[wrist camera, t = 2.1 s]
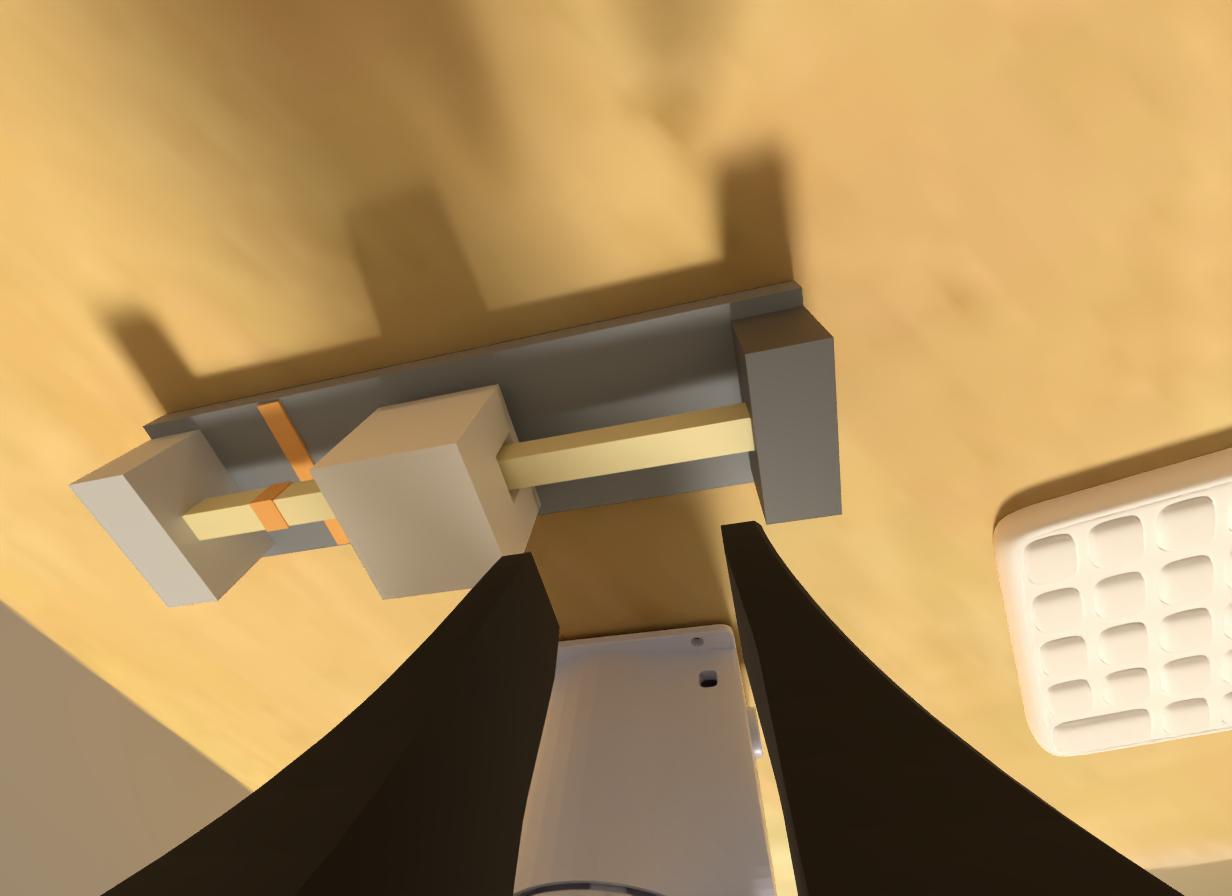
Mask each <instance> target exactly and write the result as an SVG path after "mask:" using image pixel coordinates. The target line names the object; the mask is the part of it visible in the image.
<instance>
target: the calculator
mask: <svg viewBox="0 0 1232 896" xmlns="http://www.w3.org/2000/svg"><path fill="white" fill-rule="evenodd" d="M1207 497H1208V498H1207ZM1069 535H1070V536H1071V537H1070V536H1069ZM1159 547H1160V548H1159ZM993 548H994V556H995V562H996V567H997V573H998V578H999V583H1000V588H1001V593H1002V598H1003V603H1004V609H1005V614H1006V619H1007V624H1008V629H1009V634H1010V639H1011V645H1012V650H1013V655H1014V660H1015V665H1016V670H1017V675H1018V680H1019V686H1020V691H1021V696H1022V701H1023V706H1024V711H1025V716H1026V719H1027V723H1028V726H1029V728H1030V730H1031V732H1032V734H1033V735H1034V737H1035V739H1036V740H1037V742H1038V743H1039V744H1040V746H1041V747H1042V748H1043V749H1045V750H1046V751H1048V752H1049V753H1050V754H1052V755H1057V756H1077V755H1084V754H1091V753H1098V752H1104V751H1110V750H1116V749H1122V748H1128V747H1134V746H1140V745H1146V744H1151V743H1157V742H1163V741H1169V740H1175V739H1181V738H1187V737H1193V736H1199V735H1204V734H1210V733H1216V732H1222V731H1228V730H1232V447H1231V448H1228V449H1224V450H1221V451H1217V452H1214V453H1210V454H1207V455H1203V456H1200V457H1196V458H1193V459H1189V460H1186V461H1182V462H1179V463H1175V464H1172V465H1168V466H1165V467H1161V468H1158V469H1154V470H1151V471H1147V472H1144V473H1140V474H1137V475H1133V476H1130V477H1126V478H1123V479H1119V480H1116V481H1112V482H1109V483H1105V484H1102V485H1098V486H1095V487H1091V488H1088V489H1084V490H1081V491H1077V492H1074V493H1070V494H1067V495H1063V496H1060V497H1056V498H1053V499H1049V500H1046V501H1043V502H1040V503H1037V504H1034V505H1030V506H1027V507H1024V508H1021V509H1019V510H1017V511H1015V512H1012V513H1010V514H1008V515H1006V516H1005V517H1004V518H1003V519H1001V520H1000V521H999V522H998V523H997V525H996V527H995V530H994V534H993ZM1093 564H1094V565H1093ZM1028 578H1029V579H1028ZM1076 589H1077V590H1076ZM1206 609H1207V610H1206ZM1096 613H1097V614H1098V615H1097V614H1096ZM1205 656H1206V657H1205ZM1102 660H1103V661H1102ZM1223 679H1224V680H1223ZM1087 681H1088V682H1087Z"/></svg>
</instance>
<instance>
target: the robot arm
mask: <svg viewBox="0 0 1232 896" xmlns="http://www.w3.org/2000/svg"><path fill="white" fill-rule="evenodd" d="M721 530H722V537H723V543H724V550H725V555H726V561H727V567H728V573H729V578H730V584H731V590H732V595H733V601H734V607H735V613H736V618H737V624H738V630H739V635H740V641H741V647H742V653H743V658H744V662H745V666H746V670H747V674H748V677H749V681H750V685H751V689H752V693H753V696H754V700H755V704H756V708H757V711H758V715H759V719H760V723H761V726H762V730H763V734H764V738H765V742H766V745H767V749H768V753H769V757H770V760H771V764H772V768H773V772H774V776H775V779H776V783H777V788H778V792H779V796H780V801H781V805H782V810H783V815H784V820H785V826H786V831H787V837H788V842H789V848H790V853H791V859H792V864H793V870H794V875H795V880H796V886H797V891H798V896H1184V895H1183V894H1181V893H1180V892H1178V891H1177V890H1175V889H1173V888H1172V887H1170V886H1169V885H1167V884H1166V883H1164V882H1163V881H1161V880H1160V879H1158V878H1157V877H1155V876H1154V875H1152V874H1150V873H1149V872H1147V871H1146V870H1144V869H1143V868H1141V867H1140V866H1138V865H1137V864H1135V863H1134V862H1132V861H1131V860H1129V859H1128V858H1126V857H1125V856H1123V855H1122V854H1120V853H1119V852H1117V851H1116V850H1114V849H1113V848H1111V847H1110V846H1108V845H1107V844H1105V843H1104V842H1102V841H1101V840H1099V839H1098V838H1097V837H1095V836H1094V835H1092V834H1091V833H1089V832H1088V831H1086V830H1085V829H1083V828H1082V827H1080V826H1079V825H1078V824H1076V823H1075V822H1073V821H1072V820H1070V819H1069V818H1067V817H1066V816H1064V815H1063V814H1062V813H1060V812H1059V811H1057V810H1056V809H1055V808H1053V807H1052V806H1051V805H1049V804H1048V803H1046V802H1045V801H1044V800H1042V799H1041V798H1039V797H1038V796H1037V795H1035V794H1034V793H1033V792H1031V791H1030V790H1028V789H1027V788H1026V787H1024V786H1023V785H1021V784H1020V783H1019V782H1017V781H1016V780H1014V779H1013V778H1012V777H1010V776H1009V775H1008V774H1006V773H1005V772H1004V771H1002V770H1001V769H1000V768H999V767H997V766H996V765H995V764H993V763H992V762H991V761H990V760H988V759H987V758H986V757H985V756H983V755H982V754H981V753H979V752H978V751H977V750H976V749H974V748H973V747H972V746H971V745H969V744H968V743H967V742H965V741H964V740H963V739H962V738H960V737H959V736H958V735H956V734H955V733H954V732H953V731H951V730H950V729H949V728H948V727H946V726H945V725H944V724H942V723H941V722H940V721H939V720H937V719H936V718H935V717H934V716H932V715H931V714H930V713H929V712H928V711H927V710H925V709H924V708H923V707H922V706H921V705H920V704H919V703H917V702H916V701H915V700H914V699H913V698H912V697H910V696H909V695H908V694H907V693H906V692H905V691H904V690H902V689H901V688H900V687H899V686H898V685H897V684H896V683H895V682H893V681H892V680H891V679H890V678H889V677H888V676H887V675H886V674H885V673H884V672H883V671H882V670H881V669H879V668H878V667H877V666H876V665H875V664H874V663H873V662H872V661H871V660H870V659H869V658H868V657H867V656H866V655H865V654H864V653H863V652H862V651H861V650H860V649H859V648H858V647H857V646H856V645H855V644H854V643H853V642H852V641H851V640H850V639H849V638H848V637H847V636H846V635H845V634H844V633H843V632H842V631H841V630H840V629H839V627H838V626H837V625H836V624H835V623H834V622H833V621H832V620H831V619H830V618H829V617H828V616H827V614H826V613H825V612H824V611H823V610H822V609H821V608H820V607H819V605H818V604H817V603H816V602H815V601H814V600H813V598H812V597H811V596H810V595H809V593H808V592H807V591H806V590H805V589H804V587H803V586H802V585H801V584H800V583H799V581H798V580H797V579H796V578H795V576H794V575H793V574H792V572H791V571H790V570H789V568H788V567H787V566H786V564H785V563H784V562H783V560H782V559H781V557H780V556H779V555H778V553H777V552H776V550H775V549H774V547H773V546H772V544H771V542H770V541H769V539H768V537H767V536H766V534H765V532H764V530H763V528H762V526H761V525H760V524H759V523H757V522H756V521H749V522H742V523H735V524H728V525H721ZM559 628H560V627H559V624H558V622H557V619H556V616H555V614H554V611H553V609H552V606H551V603H550V601H549V598H548V595H547V593H546V590H545V588H544V585H543V582H542V580H541V577H540V575H539V572H538V569H537V567H536V564H535V561H534V559H533V556H532V554H531V552H528V553H521V554H514V555H507V556H502V557H501V558H500V559H499V560H498V561H497V562H496V563H495V564H494V565H493V566H492V567H491V568H490V569H489V570H488V572H487V573H486V574H485V575H484V576H483V577H482V578H481V579H480V580H479V582H478V583H477V584H476V585H475V586H474V587H473V588H472V590H471V591H470V592H469V593H468V594H467V595H466V596H465V597H464V599H463V600H462V601H461V602H460V603H459V604H458V605H457V606H456V608H455V609H454V610H453V611H452V612H451V613H450V614H449V615H448V616H447V617H446V619H445V620H444V621H443V622H442V623H441V624H440V625H439V626H438V627H437V629H436V630H435V631H434V632H433V633H432V634H431V635H430V636H429V637H428V638H427V639H426V640H425V641H424V642H423V643H422V644H421V645H420V647H419V648H418V649H417V650H416V651H415V652H414V653H413V654H412V655H411V656H410V657H409V658H408V659H407V660H406V661H405V662H404V663H403V664H402V665H401V666H400V667H399V668H398V669H397V670H396V671H395V672H394V673H393V674H392V675H391V676H390V677H389V678H388V679H387V680H386V681H385V682H384V683H383V684H382V685H381V686H380V687H379V688H378V689H377V690H376V691H375V692H374V693H373V694H372V695H370V696H369V697H368V698H367V699H366V700H365V701H364V702H363V703H362V704H361V705H360V706H359V707H357V708H356V709H355V710H354V711H353V712H352V713H351V714H349V715H348V716H347V717H346V718H345V719H344V720H343V721H342V722H340V723H339V724H338V725H337V726H336V727H335V728H334V729H332V730H331V731H330V732H329V733H328V734H327V735H325V736H324V737H323V738H322V739H321V740H319V741H318V742H317V743H316V744H314V745H313V746H312V747H311V748H309V749H308V750H307V751H306V752H304V753H303V754H302V755H300V756H299V757H298V758H297V759H295V760H294V761H293V762H292V763H290V764H289V765H288V766H287V767H285V768H284V769H283V770H282V771H280V772H279V773H278V774H277V775H275V776H274V777H273V778H272V779H270V780H269V781H268V782H267V783H265V784H264V785H263V786H261V787H260V788H259V789H257V790H256V791H255V792H253V793H252V794H251V795H249V796H248V797H246V798H245V799H244V800H242V801H241V802H240V803H238V804H237V805H236V806H234V807H233V808H231V809H230V810H229V811H227V812H226V813H224V814H223V815H222V816H221V817H219V818H217V819H216V820H215V821H213V822H212V823H210V824H209V825H207V826H206V827H204V828H203V829H202V830H200V831H199V832H197V833H196V834H194V835H193V836H192V837H190V838H189V839H187V840H186V841H184V842H183V843H182V844H180V845H178V846H177V847H175V848H174V849H172V850H171V851H169V852H168V853H166V854H165V855H164V856H162V857H160V858H159V859H157V860H156V861H154V862H153V863H151V864H149V865H148V866H146V867H145V868H143V869H142V870H140V871H138V872H137V873H135V874H134V875H132V876H131V877H129V878H128V879H126V880H124V881H123V882H121V883H120V884H118V885H116V886H115V887H114V888H112V889H110V890H109V891H107V892H105V893H104V894H102V895H101V896H777V892H776V885H775V879H774V872H773V866H772V859H771V853H770V847H769V840H768V834H767V827H766V821H765V815H764V808H763V802H762V796H761V789H760V783H759V776H758V770H757V764H756V758H760V757H763V751H762V745H761V739H760V733H759V727H758V721H757V715H756V709H755V708H754V707H748V708H747V704H746V698H745V693H744V687H743V682H742V676H741V671H740V665H739V660H738V654H737V649H736V643H735V638H734V632H733V630H732V628H731V627H730V626H728V625H725V624H716V625H707V626H698V627H688V628H679V629H670V630H661V631H652V632H643V633H633V634H624V635H615V636H606V637H597V638H587V639H578V640H569V641H560V642H558V640H559ZM696 637H697V638H700V639H694V638H696Z"/></svg>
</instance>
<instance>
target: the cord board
mask: <svg viewBox="0 0 1232 896" xmlns="http://www.w3.org/2000/svg"><path fill="white" fill-rule="evenodd" d="M496 384H499V387H500V390H501V393H502V395H503V398H504V401H505V404H506V407H507V409H508V412H509V415H510V418H511V421H512V424H513V426H514V429H515V432H516V435H517V438H518V441H519V443H514V444H509V445H503V446H501V448H500V450H499V452H498V453H497V455H496V459H497V462H498V464H499V467H500V469H501V472H502V475H503V477H504V480H505V482H506V485H507V488H508V490H514V489H520V488H526V487H532V486H535V489H536V491H537V494H538V497H539V500H540V503H541V506H540V509H539V511H538V514H537V515H542V514H549V513H555V512H562V511H568V510H575V509H582V508H588V507H595V506H601V505H608V504H614V503H621V502H628V501H634V500H641V499H647V498H654V497H660V496H667V495H673V494H680V493H687V492H693V491H700V490H706V489H713V488H719V487H726V486H732V485H739V484H746V483H752V482H754V483H755V486H756V490H757V493H758V497H759V500H760V504H761V507H762V511H763V514H764V518H765V521H766V525H769V524H776V523H783V522H790V521H797V520H805V519H812V518H819V517H826V516H833V515H841V514H842V505H841V484H840V463H839V442H838V422H837V401H836V380H835V359H834V338H833V336H832V335H831V334H830V333H829V332H828V331H827V330H826V329H825V328H824V327H823V326H822V325H821V324H820V323H819V322H818V321H817V320H816V319H815V318H814V316H813V315H812V314H811V313H810V312H809V311H808V310H807V309H806V308H805V307H804V306H803V296H802V287H801V286H800V285H798V284H797V283H796V282H795V281H789V282H784V283H779V284H775V285H770V286H765V287H761V288H756V289H751V290H747V291H742V292H737V293H733V294H728V295H723V296H719V297H714V298H709V299H704V300H700V301H695V302H690V303H686V304H681V305H676V306H672V307H667V308H662V309H658V310H653V311H648V312H644V313H639V314H634V315H629V316H625V317H620V318H615V319H611V320H606V321H601V322H597V323H592V324H587V325H583V326H578V327H573V328H569V329H564V330H559V331H554V332H550V333H545V334H540V335H536V336H531V337H526V338H522V339H517V340H512V341H508V342H503V343H498V344H494V345H489V346H484V347H479V348H475V349H470V350H465V351H461V352H456V353H451V354H447V355H442V356H437V357H433V358H428V359H423V360H419V361H414V362H409V363H404V364H400V365H395V366H390V367H386V368H381V369H376V370H372V371H367V372H362V373H358V374H353V375H348V376H344V377H339V378H334V379H329V380H325V381H320V382H315V383H311V384H306V385H301V386H297V387H292V388H287V389H283V390H278V391H273V392H269V393H264V394H259V395H255V396H250V397H245V398H240V399H236V400H231V401H226V402H222V403H217V404H212V405H208V406H203V407H198V408H194V409H189V410H184V411H180V412H175V413H170V414H166V415H164V416H162V417H160V418H158V419H156V420H154V421H152V422H150V423H149V424H147V425H145V426H143V428H144V429H145V431H146V432H147V433H148V435H149V436H150V438H151V440H149V441H147V442H146V443H144V444H142V445H140V446H138V447H137V448H135V449H133V450H131V451H129V452H128V453H126V454H124V455H122V456H120V457H118V458H117V459H115V460H113V461H111V462H109V463H108V464H106V465H104V466H102V467H100V468H99V469H97V470H95V471H93V472H91V473H90V474H88V475H86V476H84V477H82V478H80V479H79V480H77V481H75V482H73V483H71V484H70V485H68V486H69V487H70V488H71V489H72V491H73V492H74V493H75V494H76V495H77V497H78V498H79V499H80V500H81V502H82V503H83V504H84V505H85V506H86V508H87V509H88V510H89V511H90V513H91V514H92V515H93V516H94V517H95V519H96V520H97V521H98V522H99V524H100V525H101V526H102V527H103V528H104V530H105V531H106V532H107V533H108V535H109V536H110V537H111V538H112V539H113V541H114V542H115V543H116V544H117V546H118V547H119V548H120V549H121V550H122V552H123V553H124V554H125V555H126V557H127V558H128V559H129V560H130V561H131V563H132V564H133V565H134V566H135V568H136V569H137V570H138V571H139V572H140V574H141V575H142V576H143V577H144V578H145V580H146V581H147V582H148V583H149V585H150V586H151V587H152V588H153V589H154V591H155V592H156V593H157V594H158V596H159V597H160V598H161V599H162V600H163V602H164V603H165V604H166V605H167V607H168V608H169V607H177V606H184V605H191V604H198V603H205V602H213V601H218V600H219V599H220V598H221V597H222V596H223V595H224V594H225V593H226V592H227V591H228V590H229V589H230V588H231V587H232V586H233V585H234V584H235V583H236V582H237V581H238V580H239V579H240V578H241V577H242V576H243V575H244V574H245V573H246V572H247V571H248V570H249V569H250V568H251V567H252V566H253V565H254V564H255V563H256V562H257V561H258V560H259V559H260V558H261V557H267V556H273V555H280V554H286V553H293V552H300V551H306V550H313V549H319V548H326V547H332V546H339V545H346V544H351V543H350V542H349V540H348V538H347V536H346V534H345V533H344V531H343V529H342V527H341V526H340V524H339V522H338V520H337V519H336V517H335V515H334V513H333V512H332V510H331V508H330V506H329V505H328V503H327V501H326V499H325V498H324V496H323V494H322V492H321V491H320V489H319V487H318V485H317V484H316V482H315V480H314V478H313V477H312V475H311V473H310V471H309V469H310V468H311V467H312V466H314V465H315V464H316V463H317V462H318V461H319V460H320V459H321V458H323V457H324V456H325V455H326V454H327V453H328V452H329V451H331V450H332V449H333V448H334V447H335V446H336V445H337V444H338V443H340V442H341V441H342V440H343V439H344V438H345V437H346V436H347V435H349V434H350V433H351V432H352V431H353V430H354V429H355V428H357V427H358V426H359V425H360V424H361V423H362V422H363V421H364V420H366V419H367V418H368V417H369V416H370V415H371V414H372V413H373V412H375V411H376V410H377V409H378V408H380V407H385V406H390V405H395V404H400V403H405V402H410V401H415V400H420V399H425V398H430V397H435V396H440V395H445V394H451V393H456V392H461V391H466V390H471V389H476V388H481V387H486V386H491V385H496Z"/></svg>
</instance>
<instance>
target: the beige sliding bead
mask: <svg viewBox="0 0 1232 896" xmlns="http://www.w3.org/2000/svg"><path fill="white" fill-rule="evenodd" d="M514 443H519V441H518V438H517V435H516V432H515V429H514V426H513V424H512V421H511V418H510V415H509V412H508V409H507V407H506V404H505V401H504V398H503V395H502V393H501V390H500V387H499V384H496V385H491V386H486V387H481V388H476V389H471V390H466V391H461V392H456V393H451V394H445V395H440V396H435V397H430V398H425V399H420V400H415V401H410V402H405V403H400V404H395V405H390V406H385V407H380V408H378V409H377V410H376V411H375V412H373V413H372V414H371V415H370V416H369V417H368V418H367V419H366V420H364V421H363V422H362V423H361V424H360V425H359V426H358V427H357V428H355V429H354V430H353V431H352V432H351V433H350V434H349V435H347V436H346V437H345V438H344V439H343V440H342V441H341V442H340V443H338V444H337V445H336V446H335V447H334V448H333V449H332V450H331V451H329V452H328V453H327V454H326V455H325V456H324V457H323V458H321V459H320V460H319V461H318V462H317V463H316V464H315V465H314V466H312V467H311V468H310V469H309V471H310V473H311V475H312V477H313V478H314V480H315V482H316V484H317V485H318V487H319V489H320V491H321V492H322V494H323V496H324V498H325V499H326V501H327V503H328V505H329V506H330V508H331V510H332V512H333V513H334V515H335V517H336V519H337V520H338V522H339V524H340V526H341V527H342V529H343V531H344V533H345V534H346V536H347V538H348V540H349V542H350V543H351V545H352V547H353V549H354V550H355V552H356V554H357V556H358V557H359V559H360V561H361V563H362V564H363V566H364V568H365V570H366V571H367V573H368V575H369V577H370V578H371V580H372V582H373V584H374V585H375V587H376V589H377V591H378V592H379V594H380V596H381V598H382V599H383V600H385V599H393V598H401V597H408V596H416V595H423V594H431V593H439V592H446V591H454V590H462V589H469V588H473V587H474V586H475V585H476V584H477V583H478V582H479V580H480V579H481V578H482V577H483V576H484V575H485V574H486V573H487V572H488V570H489V569H490V568H491V567H492V566H493V565H494V564H495V563H496V562H497V561H498V560H499V559H500V558H501V557H502V556H507V555H514V554H521V553H524V552H525V549H526V546H527V543H528V540H529V537H530V534H531V532H532V529H533V526H534V523H535V520H536V517H537V514H538V511H539V509H540V506H541V503H540V500H539V497H538V494H537V491H536V489H535V486H532V487H526V488H520V489H514V490H508V488H507V485H506V482H505V480H504V477H503V475H502V472H501V469H500V467H499V464H498V462H497V459H496V455H497V453H498V452H499V450H500V448H501V446H503V445H509V444H514Z"/></svg>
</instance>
